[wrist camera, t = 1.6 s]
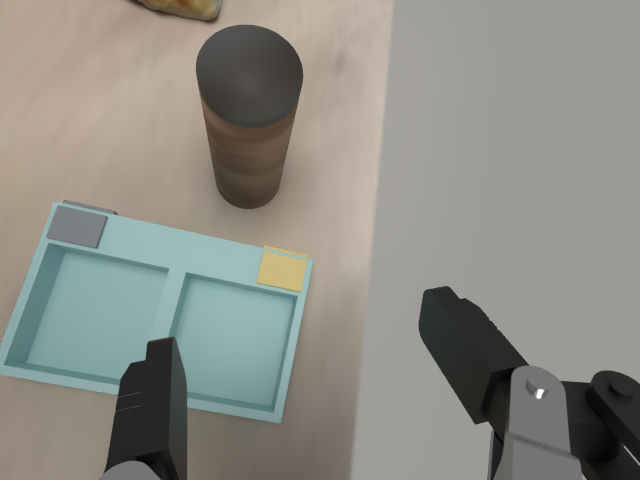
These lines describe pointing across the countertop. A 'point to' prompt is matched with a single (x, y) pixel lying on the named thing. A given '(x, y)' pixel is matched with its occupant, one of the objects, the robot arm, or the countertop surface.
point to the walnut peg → (248, 109)
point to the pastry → (186, 7)
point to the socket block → (158, 310)
